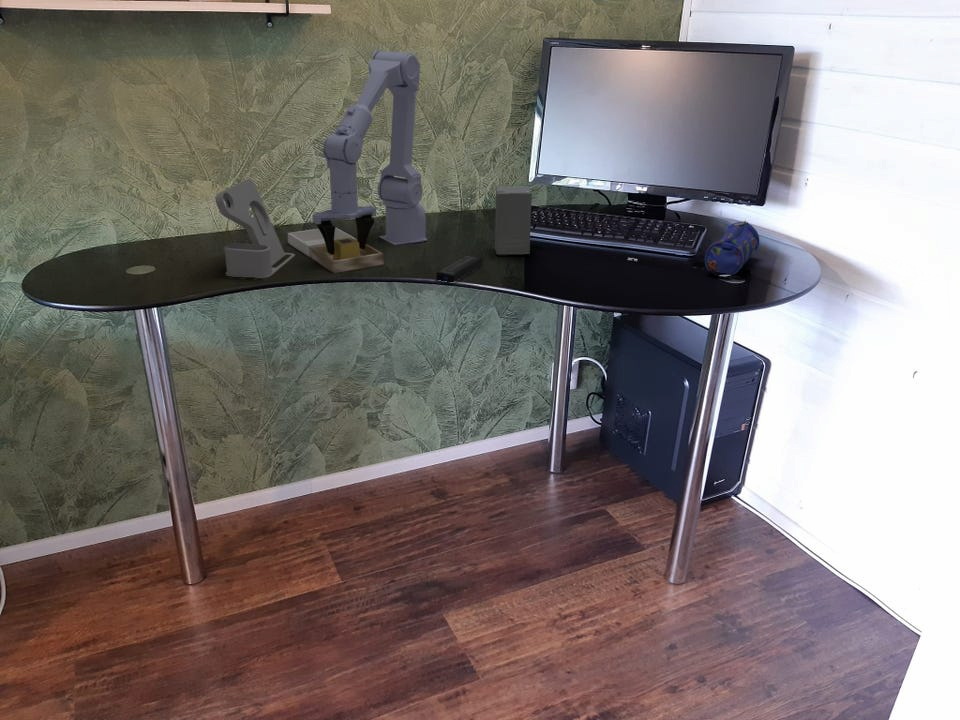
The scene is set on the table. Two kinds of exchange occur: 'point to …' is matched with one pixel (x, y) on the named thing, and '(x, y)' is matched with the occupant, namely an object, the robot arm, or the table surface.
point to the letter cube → (346, 249)
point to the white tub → (312, 239)
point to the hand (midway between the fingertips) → (346, 250)
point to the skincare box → (513, 219)
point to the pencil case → (732, 248)
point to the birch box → (366, 259)
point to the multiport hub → (459, 268)
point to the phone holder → (250, 233)
